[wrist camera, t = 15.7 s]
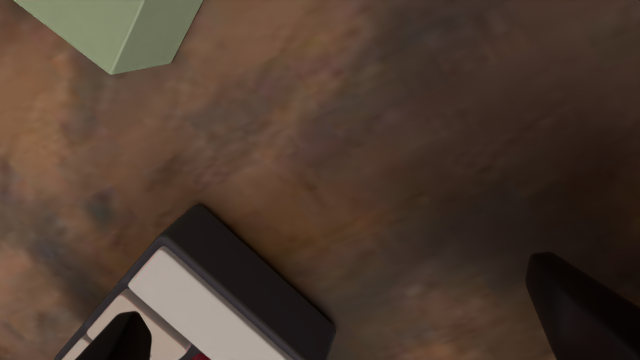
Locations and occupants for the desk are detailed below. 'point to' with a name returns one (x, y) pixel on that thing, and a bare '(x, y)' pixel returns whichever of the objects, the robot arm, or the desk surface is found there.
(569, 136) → the desk surface
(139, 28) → the sage box
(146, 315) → the calculator
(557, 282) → the robot arm
